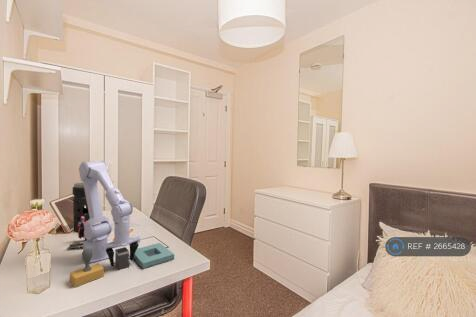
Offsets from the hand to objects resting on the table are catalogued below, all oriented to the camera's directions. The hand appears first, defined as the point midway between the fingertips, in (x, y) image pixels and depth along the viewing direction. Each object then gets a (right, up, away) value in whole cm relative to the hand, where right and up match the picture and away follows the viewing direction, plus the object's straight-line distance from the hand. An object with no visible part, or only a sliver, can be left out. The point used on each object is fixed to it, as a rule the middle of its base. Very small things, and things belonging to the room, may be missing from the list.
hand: (122, 262), depth 101 cm
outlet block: (+10, -1, +9) cm, 13 cm away
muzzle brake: (-44, +1, +41) cm, 60 cm away
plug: (0, -2, 0) cm, 2 cm away
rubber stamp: (-9, -2, -10) cm, 13 cm away
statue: (-31, 0, +20) cm, 36 cm away
